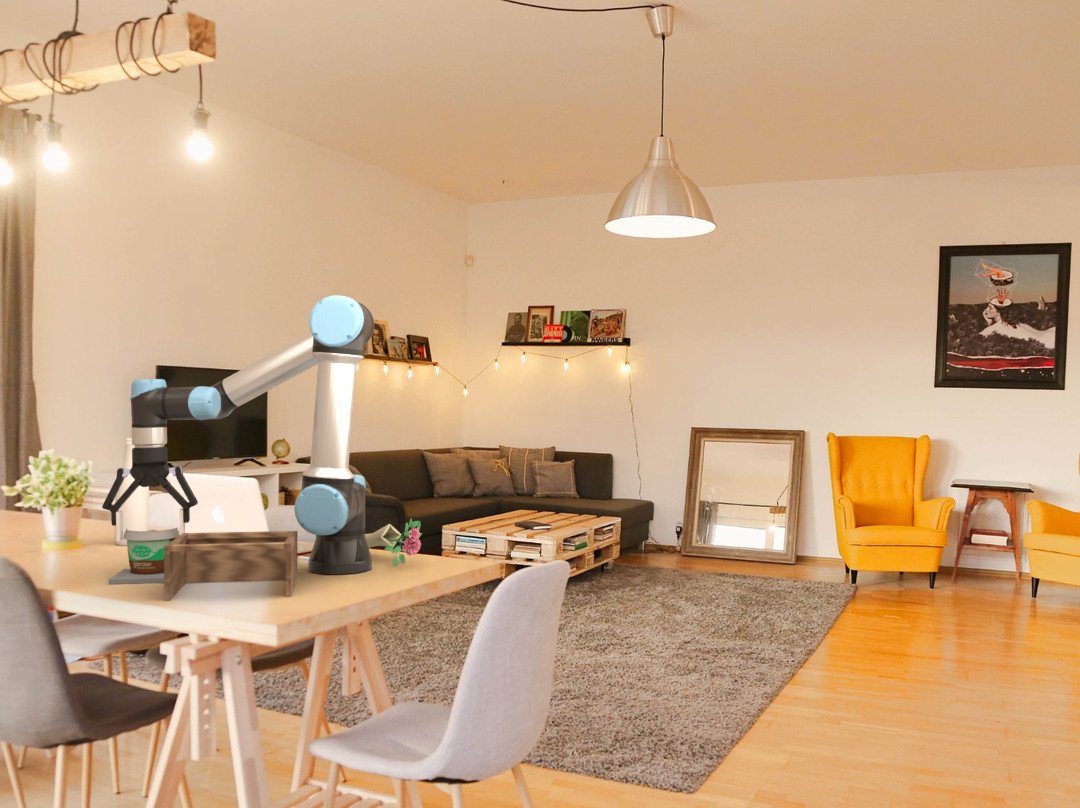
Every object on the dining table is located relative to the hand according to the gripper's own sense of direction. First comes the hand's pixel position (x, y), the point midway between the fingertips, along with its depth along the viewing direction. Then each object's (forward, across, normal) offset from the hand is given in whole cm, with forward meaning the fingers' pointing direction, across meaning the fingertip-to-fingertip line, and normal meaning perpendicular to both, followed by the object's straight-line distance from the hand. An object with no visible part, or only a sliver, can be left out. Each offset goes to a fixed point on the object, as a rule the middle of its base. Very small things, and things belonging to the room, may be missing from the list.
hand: (151, 538), depth 215 cm
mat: (+9, +1, 0) cm, 9 cm away
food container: (+8, +1, 0) cm, 8 cm away
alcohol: (+8, +17, -55) cm, 58 cm away
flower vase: (+10, -54, -15) cm, 57 cm away
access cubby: (+10, -20, +17) cm, 28 cm away
